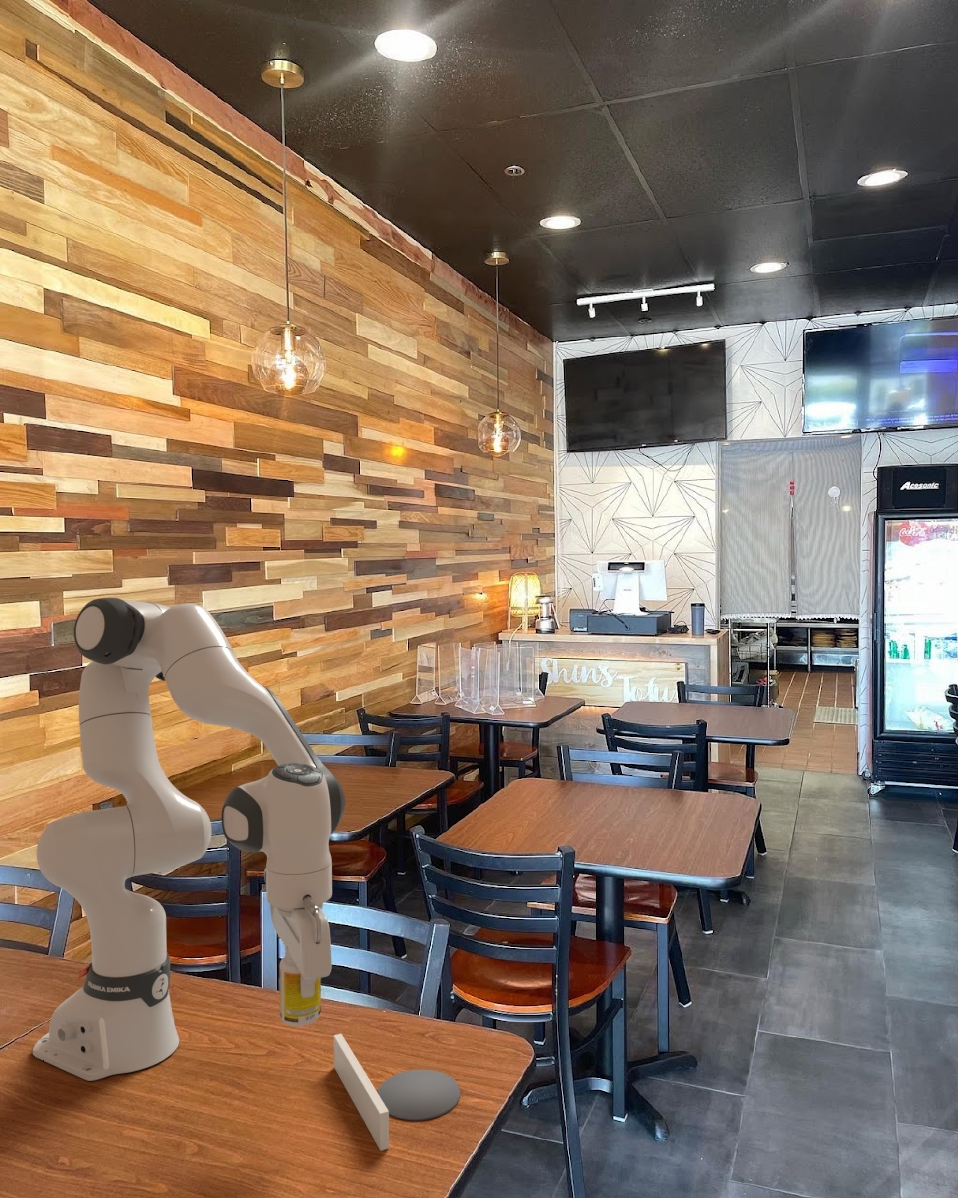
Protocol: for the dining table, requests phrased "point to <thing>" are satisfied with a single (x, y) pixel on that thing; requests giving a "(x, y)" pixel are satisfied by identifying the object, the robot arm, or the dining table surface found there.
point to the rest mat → (419, 1094)
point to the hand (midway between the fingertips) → (300, 984)
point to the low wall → (362, 1092)
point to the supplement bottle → (296, 996)
